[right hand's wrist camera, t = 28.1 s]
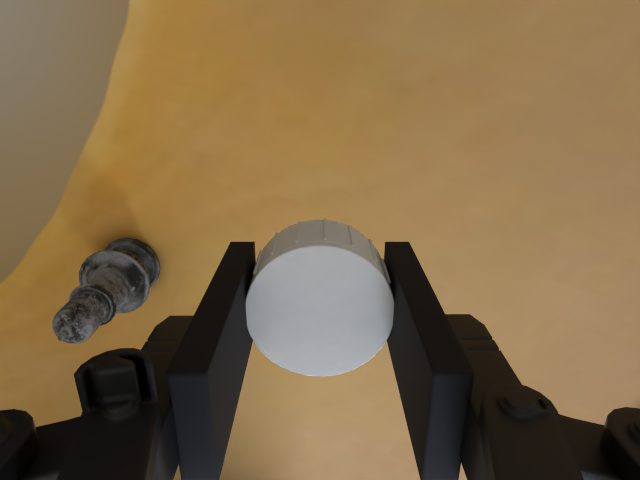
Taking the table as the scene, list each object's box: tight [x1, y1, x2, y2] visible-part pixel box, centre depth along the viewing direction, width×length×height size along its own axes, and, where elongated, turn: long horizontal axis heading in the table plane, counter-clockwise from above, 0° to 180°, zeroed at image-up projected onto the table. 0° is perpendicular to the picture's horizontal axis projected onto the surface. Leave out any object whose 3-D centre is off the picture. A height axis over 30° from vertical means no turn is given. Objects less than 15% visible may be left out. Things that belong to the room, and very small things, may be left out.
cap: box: [245, 219, 394, 376], centre depth 14 cm, size 4×4×2 cm
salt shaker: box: [53, 239, 160, 343], centre depth 36 cm, size 6×6×12 cm
